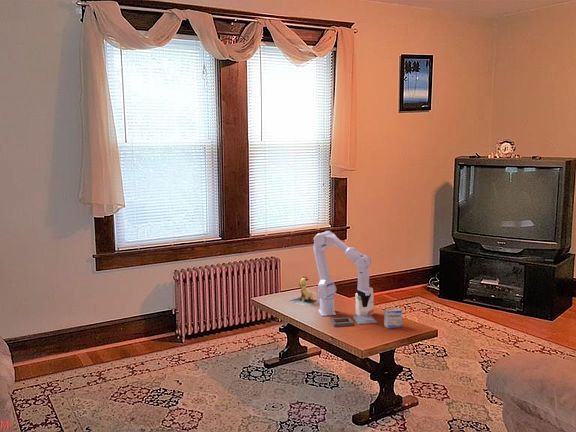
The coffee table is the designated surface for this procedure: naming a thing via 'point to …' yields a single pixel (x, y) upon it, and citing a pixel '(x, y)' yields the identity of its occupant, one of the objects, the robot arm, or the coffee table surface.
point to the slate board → (364, 319)
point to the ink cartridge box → (370, 305)
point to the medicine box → (393, 318)
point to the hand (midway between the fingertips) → (363, 305)
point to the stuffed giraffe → (305, 294)
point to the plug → (359, 305)
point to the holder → (341, 322)
